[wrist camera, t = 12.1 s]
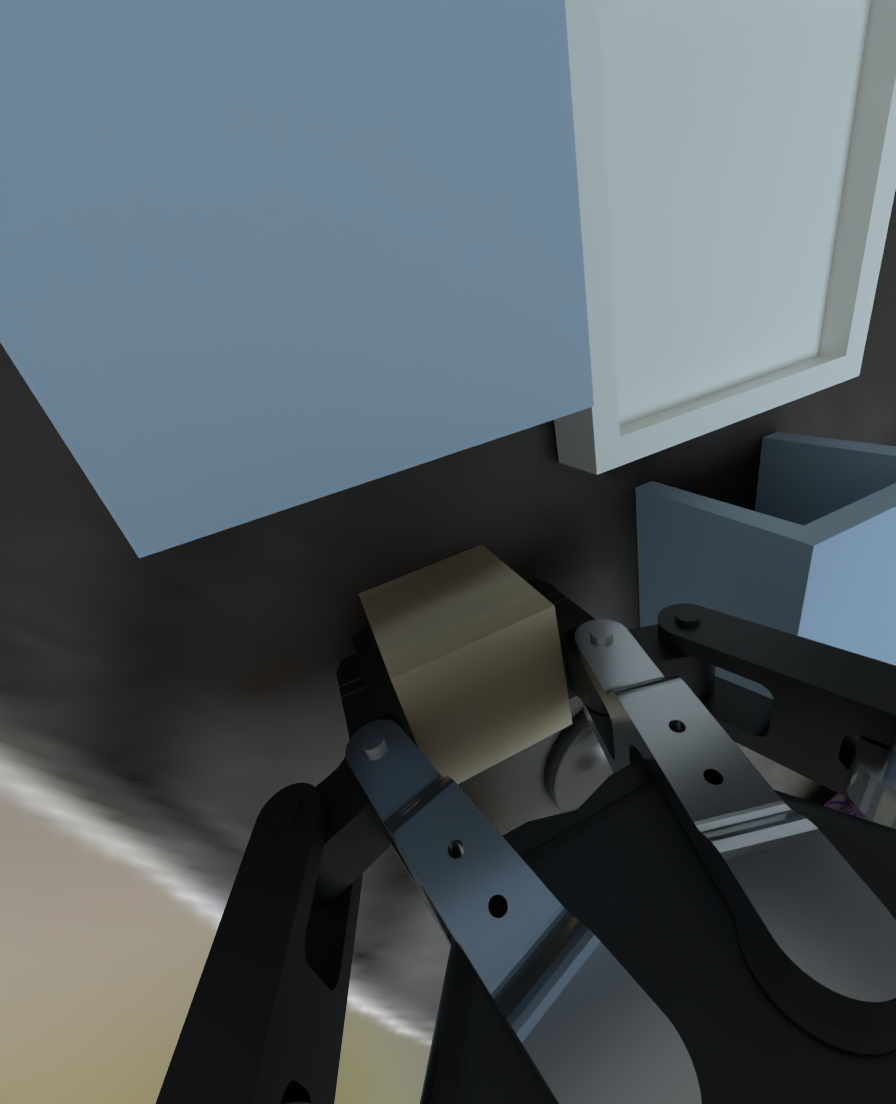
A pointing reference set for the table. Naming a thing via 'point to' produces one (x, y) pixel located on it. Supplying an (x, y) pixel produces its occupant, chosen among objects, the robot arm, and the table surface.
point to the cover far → (783, 547)
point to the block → (471, 660)
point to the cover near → (286, 242)
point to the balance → (575, 765)
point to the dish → (725, 208)
